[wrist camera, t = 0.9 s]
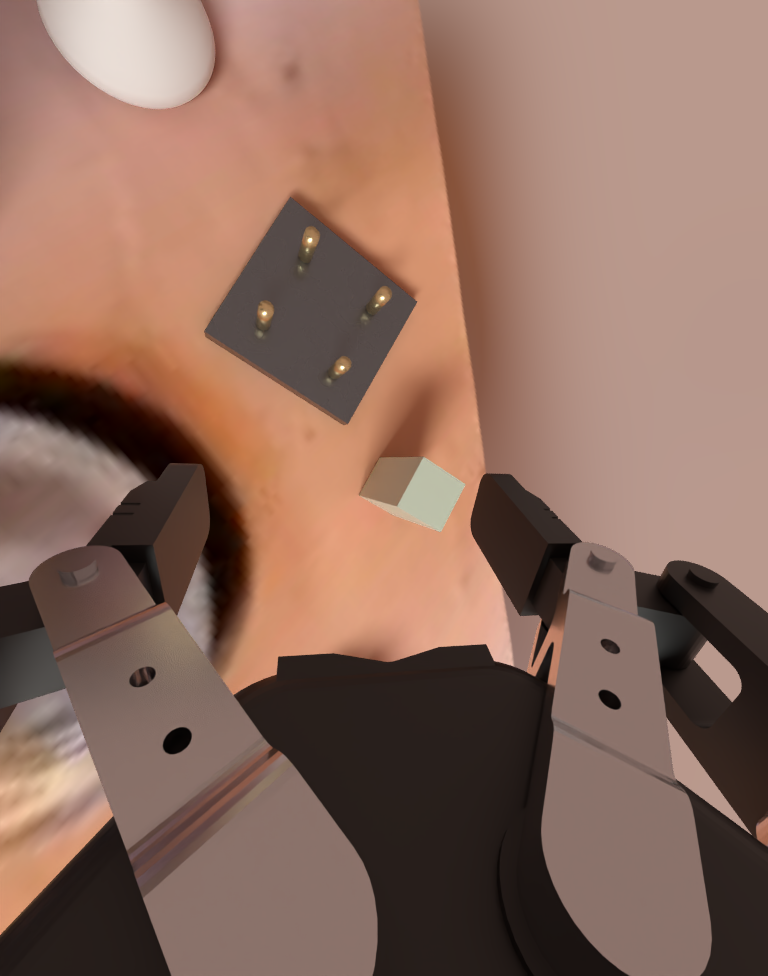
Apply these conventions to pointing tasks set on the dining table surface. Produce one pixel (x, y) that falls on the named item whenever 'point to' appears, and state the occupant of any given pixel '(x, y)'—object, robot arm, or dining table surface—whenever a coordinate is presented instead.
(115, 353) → the dining table surface
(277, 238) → the grey gold peg board
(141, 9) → the flower in vase
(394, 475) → the block
